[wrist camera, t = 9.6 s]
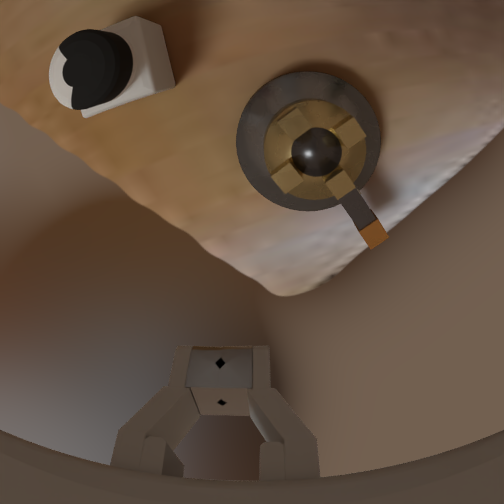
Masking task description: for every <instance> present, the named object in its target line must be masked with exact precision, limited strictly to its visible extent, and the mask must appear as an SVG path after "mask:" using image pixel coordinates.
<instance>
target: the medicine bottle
mask: <svg viewBox="0 0 504 504" xmlns="http://www.w3.org/2000/svg"><path fill="white" fill-rule="evenodd" d="M49 82H50V86H51V89H52V92H53V94H54V96H55V97H56V98H57V100H58V101H59V102H60V103H61V104H63V105H64V106H66V107H68V108H71V109H76V110H81V112H82V116H83V117H84V118H88V117H91V116H93V115H96V114H98V113H101V112H104V111H106V110H109V109H112V108H115V107H117V106H120V105H123V104H126V103H129V102H131V101H134V100H137V99H140V98H143V97H146V96H149V95H152V94H156V93H159V92H162V91H165V90H169V89H172V88H174V87H175V80H174V76H173V72H172V68H171V64H170V60H169V56H168V52H167V48H166V44H165V40H164V36H163V31H162V27H161V25H159V24H156V23H154V22H151V21H149V20H146V19H144V18H141V17H138V16H133V17H131V18H128V19H126V20H123V21H121V22H118V23H116V24H114V25H111V26H109V27H107V28H104V29H102V30H93V29H87V30H82V31H79V32H76V33H74V34H72V35H71V36H69V37H68V38H66V39H65V40H64V41H63V42H62V43H61V44H60V46H59V47H58V48H57V50H56V52H55V53H54V55H53V58H52V60H51V64H50V69H49Z"/></svg>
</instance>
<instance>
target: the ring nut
mask: <svg viewBox="0 0 504 504" xmlns="http://www.w3.org/2000/svg"><path fill="white" fill-rule="evenodd" d="M365 137H366V134H365V133H364V131H363V130H362V128H361V127H360V125H359V124H358V122H357V121H356V120H355V118H354V117H353V116H352V115H351V114H350V113H348V112H347V111H346V110H344V109H343V108H341V107H339V106H337V105H335V104H333V103H331V102H328V101H326V100H322V99H315V98H306V99H300V100H297V101H293V102H291V103H289V104H287V105H285V106H284V107H282V108H281V109H280V110H279V111H278V112H277V113H276V114H275V115H274V116H273V117H272V119H271V120H270V122H269V124H268V126H267V128H266V131H265V134H264V141H263V148H264V158H265V163H266V166H267V169H268V171H269V173H270V176H271V178H272V179H273V180H274V181H275V183H276V184H277V185H278V186H279V187H280V189H281V190H282V191H283V192H284V193H285V194H286V193H289V194H291V195H294V196H296V197H299V198H302V199H308V200H320V199H326V198H330V197H333V196H335V197H336V199H337V200H339V202H340V203H341V204H342V206H343V207H344V209H345V210H346V211H347V213H348V214H349V216H350V217H351V218H352V220H353V222H354V224H355V226H356V228H357V229H358V231H359V233H360V234H361V236H362V237H363V239H364V240H365V242H366V243H367V245H368V246H369V248H370V249H373V248H374V247H375V246H377V245H379V244H380V243H382V242H383V241H385V240H386V239H388V238H389V236H388V235H387V233H386V231H385V230H384V228H383V226H382V225H381V223H380V221H379V220H378V218H377V217H376V215H375V214H374V213H373V211H372V210H371V209H369V207H368V205H367V204H366V202H365V201H364V199H363V198H362V196H361V195H360V193H359V192H358V190H357V189H356V187H355V185H354V184H353V183H354V181H355V180H356V179H357V178H358V176H359V174H360V173H361V171H362V168H363V166H364V162H365V158H366V141H365Z"/></svg>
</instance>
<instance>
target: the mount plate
mask: <svg viewBox="0 0 504 504" xmlns="http://www.w3.org/2000/svg"><path fill="white" fill-rule="evenodd" d="M306 98H315V99H322V100H326V101H328V102H331V103H333V104H335V105H337V106H339V107H341V108H343V109H344V110H346V111H347V112H348V113H350V114H351V115H352V116H353V117H354V118H355V120H356V121H357V122H358V124H359V125H360V127H361V128H362V130H363V131H364V133H365V134H366V137H365V141H366V158H365V162H364V166H363V168H362V171H361V173H360V174H359V176H358V178H357V179H356V180H355V181H354V183H353V184H354V185H355V187H356V189H357V190H358V192H359V193H360V191H359V190H360V189H362V188H363V186H364V185H365V184H366V183H367V181H368V180H369V178H370V177H371V175H372V174H373V171H374V169H375V167H376V165H377V161H378V158H379V153H380V145H381V137H380V129H379V125H378V121H377V118H376V116H375V113H374V111H373V109H372V107H371V106H370V104H369V103H368V101H367V100H366V99H365V97H364V96H363V95H362V94H361V93H360V92H359V91H358V90H357V89H355V88H354V87H353V86H352V85H350V84H349V83H347V82H345V81H344V80H342V79H339V78H337V77H335V76H332V75H328V74H325V73H319V72H294V73H289V74H285V75H282V76H279V77H277V78H275V79H273V80H271V81H269V82H268V83H266V84H265V85H263V86H262V87H261V88H260V89H259V90H257V92H256V93H255V94H254V95H253V96H252V97H251V98H250V100H249V101H248V103H247V104H246V106H245V108H244V110H243V112H242V115H241V118H240V121H239V124H238V129H237V136H236V147H237V155H238V159H239V163H240V165H241V168H242V170H243V172H244V174H245V176H246V178H247V179H248V181H249V182H250V183H251V185H252V186H253V187H254V188H255V189H256V190H257V191H258V192H259V193H260V194H261V195H263V196H264V197H265V198H267V199H268V200H270V201H272V202H273V203H275V204H278V205H280V206H282V207H285V208H289V209H293V210H298V211H318V210H323V209H328V208H331V207H334V206H336V205H339V204H341V203H340V202H339V200H337V199H336V197H335V196H333V197H330V198H326V199H320V200H308V199H302V198H299V197H296V196H294V195H291V194H289V193H286V194H285V193H284V192H283V191H282V190H281V189H280V187H279V186H278V185H277V184H276V183H275V181H274V180H273V179H272V178H271V176H270V173H269V171H268V169H267V166H266V163H265V158H264V148H263V141H264V134H265V131H266V128H267V126H268V124H269V122H270V120H271V119H272V117H273V116H274V115H275V114H276V113H277V112H278V111H279V110H280V109H281V108H282V107H284V106H285V105H287V104H289V103H291V102H293V101H297V100H300V99H306ZM360 194H361V193H360Z"/></svg>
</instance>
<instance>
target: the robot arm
mask: <svg viewBox="0 0 504 504" xmlns="http://www.w3.org/2000/svg"><path fill="white" fill-rule="evenodd" d="M200 415H238V416H250V417H251V418H252V420H253V422H254V423H255V425H256V426H257V428H258V429H259V431H260V432H261V434H262V435H263V437H264V438H265V440H266V441H267V442H264V443H263V444H262V445H261V446H260V480H259V481H226V480H208V479H195V478H184V477H183V474H184V465H183V463H182V462H181V461H180V459H179V458H178V457H177V456H176V454H175V453H174V452H173V450H174V449H175V448H176V447H177V446H178V444H179V443H180V442H181V440H182V439H183V438H184V437H185V435H186V434H187V433H188V432H189V430H190V429H191V428H192V426H193V425H194V424H195V423H196V421H197V420H198V419H199V417H200ZM0 504H504V430H503V431H500V432H498V433H495V434H493V435H491V436H488V437H486V438H483V439H480V440H478V441H475V442H473V443H470V444H467V445H464V446H462V447H459V448H455V449H452V450H450V451H446V452H443V453H440V454H437V455H433V456H430V457H426V458H423V459H419V460H415V461H411V462H407V463H403V464H399V465H394V466H390V467H385V468H380V469H375V470H370V471H364V472H358V473H351V474H345V475H338V476H329V477H320V469H319V458H318V448H317V439H316V437H315V436H314V435H313V434H312V433H311V431H310V430H309V429H308V428H307V427H306V425H305V424H304V423H303V422H302V421H301V419H300V418H299V417H298V416H297V415H296V414H295V412H294V411H293V410H292V409H291V407H290V406H289V405H288V404H287V402H286V401H285V400H284V399H283V398H282V396H281V395H280V394H279V393H278V391H277V390H276V389H275V388H270V353H269V346H230V347H229V346H228V347H199V346H178V347H177V349H176V351H175V356H174V360H173V365H172V370H171V375H170V379H169V384H168V387H167V386H164V387H163V388H162V389H161V390H160V391H159V392H158V393H156V395H154V397H152V398H151V399H150V400H149V401H148V402H147V403H146V404H145V405H144V406H143V407H142V408H141V409H140V410H139V411H138V412H137V413H136V414H135V415H134V416H133V417H132V418H131V419H130V420H129V421H128V422H127V423H126V424H125V425H124V426H122V427H121V428H120V430H119V431H118V434H117V438H116V442H115V447H114V451H113V455H112V459H111V463H110V465H106V464H101V463H97V462H93V461H89V460H86V459H82V458H78V457H75V456H71V455H68V454H65V453H61V452H58V451H55V450H52V449H49V448H46V447H43V446H40V445H38V444H35V443H32V442H29V441H26V440H24V439H22V438H19V437H17V436H14V435H12V434H9V433H6V432H4V431H2V430H0Z"/></svg>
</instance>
